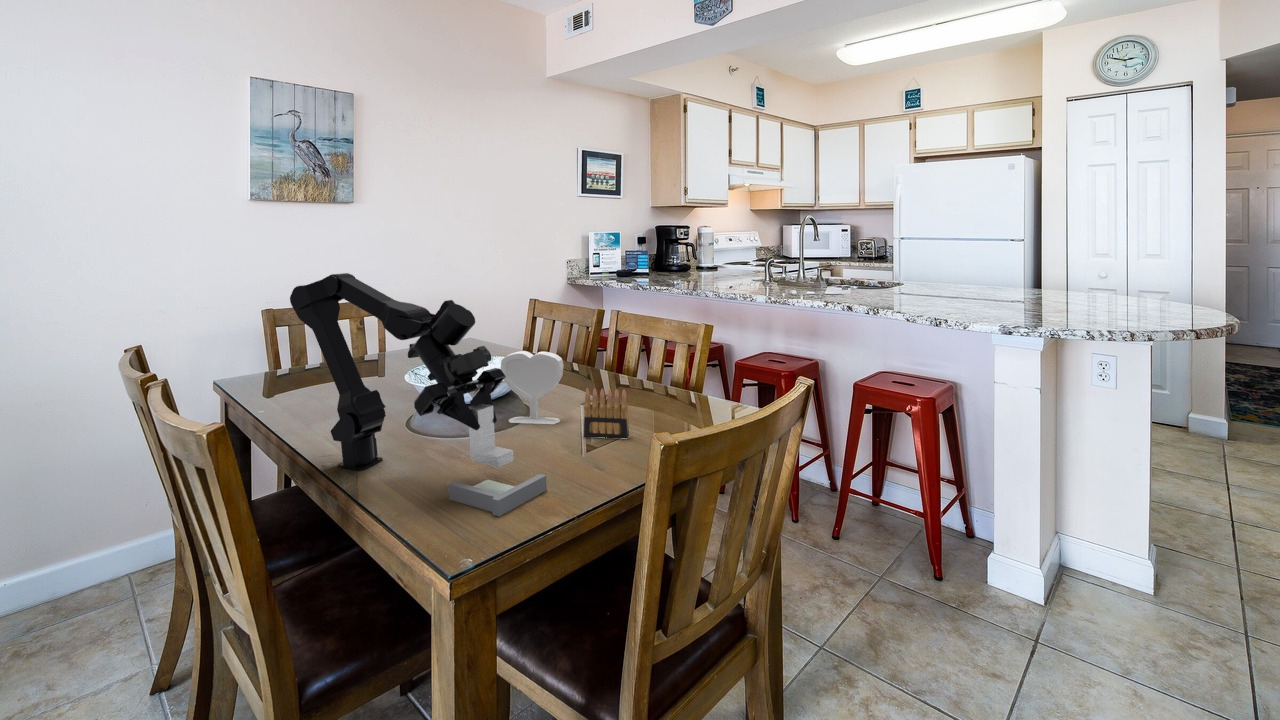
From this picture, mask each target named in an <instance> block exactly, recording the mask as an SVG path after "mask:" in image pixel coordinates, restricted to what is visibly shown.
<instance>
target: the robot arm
mask: <svg viewBox="0 0 1280 720" xmlns="http://www.w3.org/2000/svg"><path fill="white" fill-rule="evenodd" d="M343 300H345V301H346V302H348V303H350V304H352V305H354V306H355V307H356V308H359V309H361V310H362V311H364V312H366V313H368V314H369V315H371V316H372V317H374V318H376V319H378V320H379V321H380V322H381V323H382V326H383V329H385V330H386V331H387V332H388V333H389V334H390V335H392V336H393V337H394V338H395V339H397V340H400V341H406V340H411V339H415V338H418V339H417V340H416V341H415V343H410V344H409V345H408V346H409V347H408V348H409V349H408V351H407V358H409V359H414V358H419V359H420V360H421V361H422V363H423V364H424V366H425V367H426V368H427V370H428V372H429V374H428V375H427V379H428V380H429V381H430V382H432V381H435V382H436V383H434V384H431V385H427V386H425V387H424V388H423V389H422V390H421V392H420V393H419V394H418V396H417V397H416V398H415V400H414V402H413V405H414V409H415V411H416V412H417V414H418V415H419V416H420V417H422V416H425V415H428V414H431V413H433V412H434V410H435V409H434V408H435V405H434V404H435V403H437V404H438V406H439V409H438V410H437V411H436V413H437V414H438V415H441V414H442V415H444V416H446V417H449V418H451V419H453V420H456V421H457V422H459V423H461V424H463V425H465V426H467V427H468V428H469V427H471V428H472V429H474V430H478V429H479V428H480V425H479V423H478V421H477V420H476V418H475V416H474V415H473V413H472V412H471V410H470V409H469V408H470V407H469V406H468V405H467V403H466V399H465V394H466V395H467V394H469V395H470V396H471V400H470V401H469V404H470V405H471V406H472V407H474V406H478V405H481V404H488V405H493V401H492V396H491V395H492V394H493V393H494V392H495V391H496V389H497V388H498V387H499V386H500V385H501V383H502V382H503V381H504V379H505V377H506V376H505V375H504V373H503V372H502V370H501V368H499V367H498V368H497V367H493V368H490V369H487V370H484V371H482V372H481V373H480V374H479V373H478V370H480V369H482V368H483V367H484V368H487V367H488V366H489V362H491V361H492V355H491V352H490V351H489V349H488V348H487V347H486V346H485V345H481V346H477V348H473V349H472V351H469V352H467V353H464V354H461V353H458V354H456V353H455V352H454V351H453V349H452V348H451V347H450V346H456V345H458V344H460V342H461V341H462V340H463V339H464V337H465V336H466V335H467V334H468V333H469V331H470V330H471V329H472V328H473V327H474V326H475V324H476V318H475V316H474V314H473V313H472V312H471V310H470V309H467V308H465V306H463V305H460V304H457V303H455V301H454V300H452V299H448V300H444V301H443V303H441V305H440V308H439V309H438V310H437V311H436V312H435V313H431V312H430V310H428V309H427V308H426V307H423V306H421V305H418V304H414V303H410V302H404V301H399V300H396V299H394V298H392V297H390V296H388V295H387V294H385V293H383V292H381V291H379V290H377V289H376V288H373V286H370V285H368V284H366V283H364V282H363V281H361V280H360V279H357V278H356V277H355V276H354V274H351V273H349V272H347V273H346V272H344V273H332V274H329V275H328V276H325V277H324V278H322V279H320V280H317V281H313V282H312V283H309V284H303V285H297V286H295V287H294V288H293V289H292V291H291V294H290V296H289V302H290V305H291V307H292V309H293V310H294V313H295V314H296V316H297V317H298V319H299V320H300V321H301V322H302V323H303V324H304V325H306V326H307V327H308V328H309V329H311V330H312V332H313V334H314V337H315V339H316V341H317V344H318V347H319V349H320V351H321V353H322V356H323V358H324V361H325V362H326V365H327V368H328V370H329V372H330V375H331V377H332V379H333V382H334V384H335V387H336V389H337V391H338V394H339V396H338V401H337V402H338V403H337V406H336V407H337V414H338V417H339V419H338V421H337V422H336V423H335V424H334V426H333V427H332V429H331V430H330V434H331V436H332V440H333V441H334V442H335V441H336V442H340V445H341V447H340V448H341V454H342V455H341V456H342V461H341V462H339V463H337V467H339V468H346V469H350V470H351V469H352V470H357V471H362V470H364V469H367V468H369V467H371V466H373V465H375V464H377V463H380V462H382V461H384V459H383V457H380V456H379V457H378V455H379V454H378V446H377V445H378V444H377V438H376V435H375V434H376V433H379V432H381V431H382V428H383V424H384V421H385V418H386V410H385V408H386V405H385V404H384V402H383V400H382V397H381V394H380V392H379V390H377V389H375V390H374V389H373V390H371V389H369V388H368V387H367V386H366V385H365V384H364V382H363V380H362V377H361V375H360V372H359V369H358V367H357V364H356V362H355V360H354V358H353V354H352V353H351V350H350V348H349V345H348V343H347V341H346V338H345V336H344V334H343V331H342V329H341V326H340V325H339V324H340V323H339V317H340V310H341V305H340V303H339V302H340V301H343ZM478 374H479V376H478V377H477V379H475V380H473V378H475V377H476V376H477V375H478ZM493 406H494V405H493ZM493 412H494V425H495V424H496V423H497V422H498V420H497V416H496V412H495V409H494V407H493Z"/></svg>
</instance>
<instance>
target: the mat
mask: <svg viewBox="0 0 1280 720" xmlns="http://www.w3.org/2000/svg"><path fill="white" fill-rule="evenodd" d="M472 486H473V487H477V488H481V489H484V490H488V491H492V492H495V493H499V494H502V493H504V492H506V491H508V490H510V489H512V488H513V487H515V486H513V485H510V484H505V483H502V482H498V481H494V480H490V479H485V480H483V481H481V482H480V483H477V484H474V485H472Z"/></svg>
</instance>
